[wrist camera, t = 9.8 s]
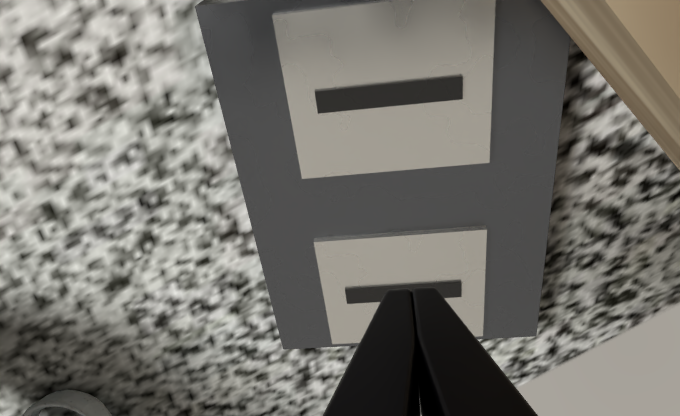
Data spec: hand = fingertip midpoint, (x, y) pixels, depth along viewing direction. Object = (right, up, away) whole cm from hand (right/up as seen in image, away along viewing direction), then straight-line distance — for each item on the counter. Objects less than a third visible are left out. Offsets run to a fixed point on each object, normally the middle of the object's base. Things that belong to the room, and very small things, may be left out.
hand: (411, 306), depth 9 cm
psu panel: (+1, +3, +13) cm, 13 cm away
